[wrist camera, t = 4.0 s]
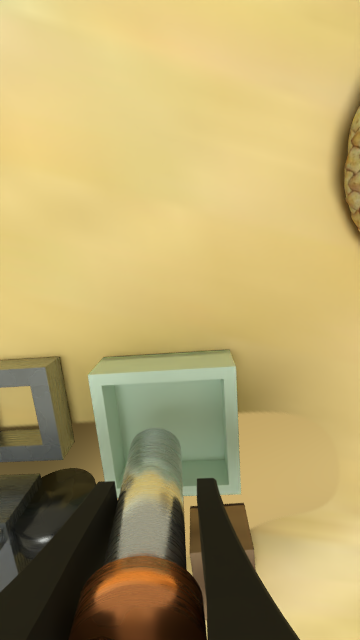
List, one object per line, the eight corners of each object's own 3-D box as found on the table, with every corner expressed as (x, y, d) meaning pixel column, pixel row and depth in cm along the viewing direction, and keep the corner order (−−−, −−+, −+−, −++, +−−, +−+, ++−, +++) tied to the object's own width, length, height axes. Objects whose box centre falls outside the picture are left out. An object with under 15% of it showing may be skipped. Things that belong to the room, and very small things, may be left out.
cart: (119, 558, 19) (80, 721, 13) (-12, 560, 20) (-119, 718, 13) (103, 457, 18) (48, 583, 11) (-40, 462, 18) (-179, 585, 11)
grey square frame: (74, 441, 18) (63, 459, 16) (-12, 445, 18) (-31, 463, 16) (59, 356, 16) (45, 367, 15) (-33, 362, 17) (-56, 373, 15)
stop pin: (192, 476, 14) (212, 700, 7) (125, 483, 13) (77, 713, 7) (186, 417, 13) (203, 598, 6) (116, 423, 13) (53, 612, 6)
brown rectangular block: (249, 563, 19) (259, 618, 16) (198, 566, 20) (199, 620, 17) (243, 502, 18) (253, 549, 15) (190, 506, 18) (189, 553, 16)
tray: (234, 460, 17) (241, 494, 15) (119, 465, 18) (107, 498, 15) (229, 349, 16) (235, 366, 13) (103, 357, 16) (87, 374, 14)
